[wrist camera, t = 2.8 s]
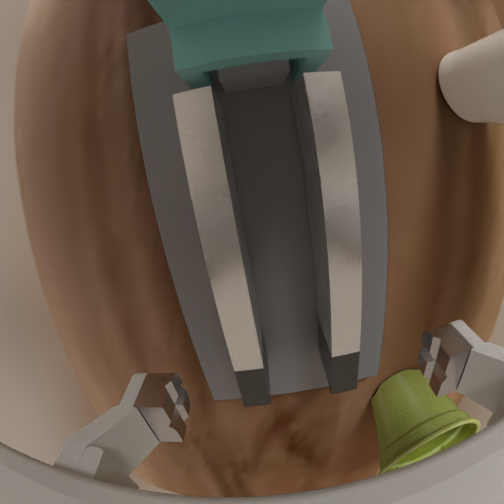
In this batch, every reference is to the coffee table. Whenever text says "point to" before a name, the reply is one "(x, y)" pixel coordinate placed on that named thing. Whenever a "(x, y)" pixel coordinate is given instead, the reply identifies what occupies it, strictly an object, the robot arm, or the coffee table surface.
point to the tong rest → (263, 202)
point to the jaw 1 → (223, 237)
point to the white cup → (475, 80)
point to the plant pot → (416, 420)
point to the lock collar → (244, 35)
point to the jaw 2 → (332, 221)
